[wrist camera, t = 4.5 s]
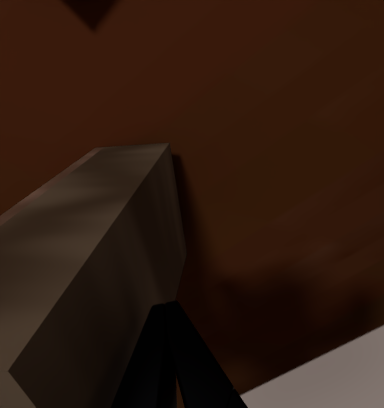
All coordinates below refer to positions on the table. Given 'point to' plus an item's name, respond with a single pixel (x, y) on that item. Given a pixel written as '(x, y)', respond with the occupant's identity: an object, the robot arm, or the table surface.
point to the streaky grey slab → (86, 275)
